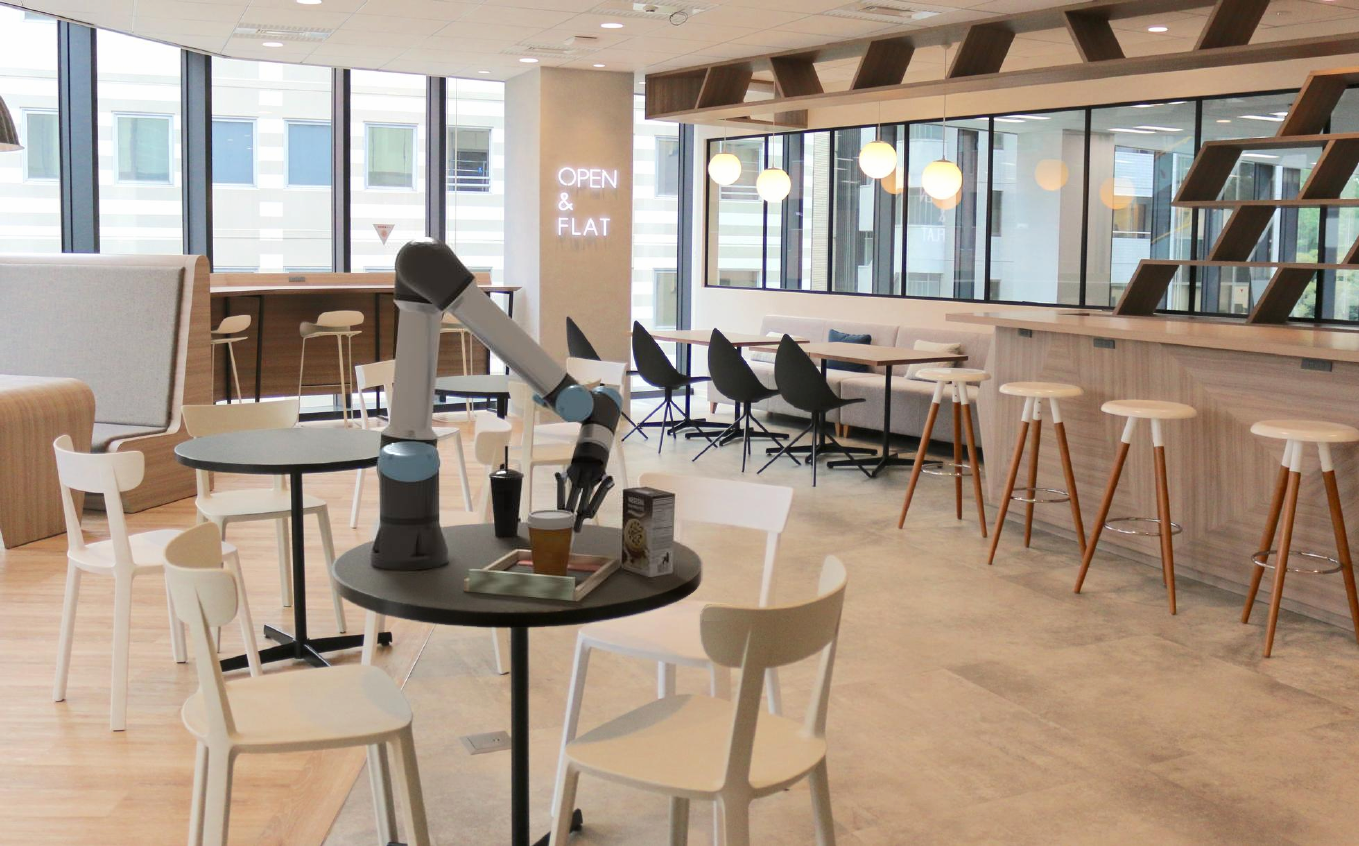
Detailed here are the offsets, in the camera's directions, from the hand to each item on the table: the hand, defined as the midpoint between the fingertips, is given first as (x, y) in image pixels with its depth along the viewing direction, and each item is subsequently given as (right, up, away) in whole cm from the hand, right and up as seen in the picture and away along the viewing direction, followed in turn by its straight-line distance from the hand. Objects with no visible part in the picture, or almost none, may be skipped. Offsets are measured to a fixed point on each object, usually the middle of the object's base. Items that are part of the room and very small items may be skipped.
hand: (566, 544), depth 237 cm
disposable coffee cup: (-2, -5, -8) cm, 10 cm away
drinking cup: (-16, -1, +25) cm, 30 cm away
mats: (-1, -4, -1) cm, 5 cm away
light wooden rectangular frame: (-3, -5, -11) cm, 13 cm away
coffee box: (+16, -5, -4) cm, 17 cm away
